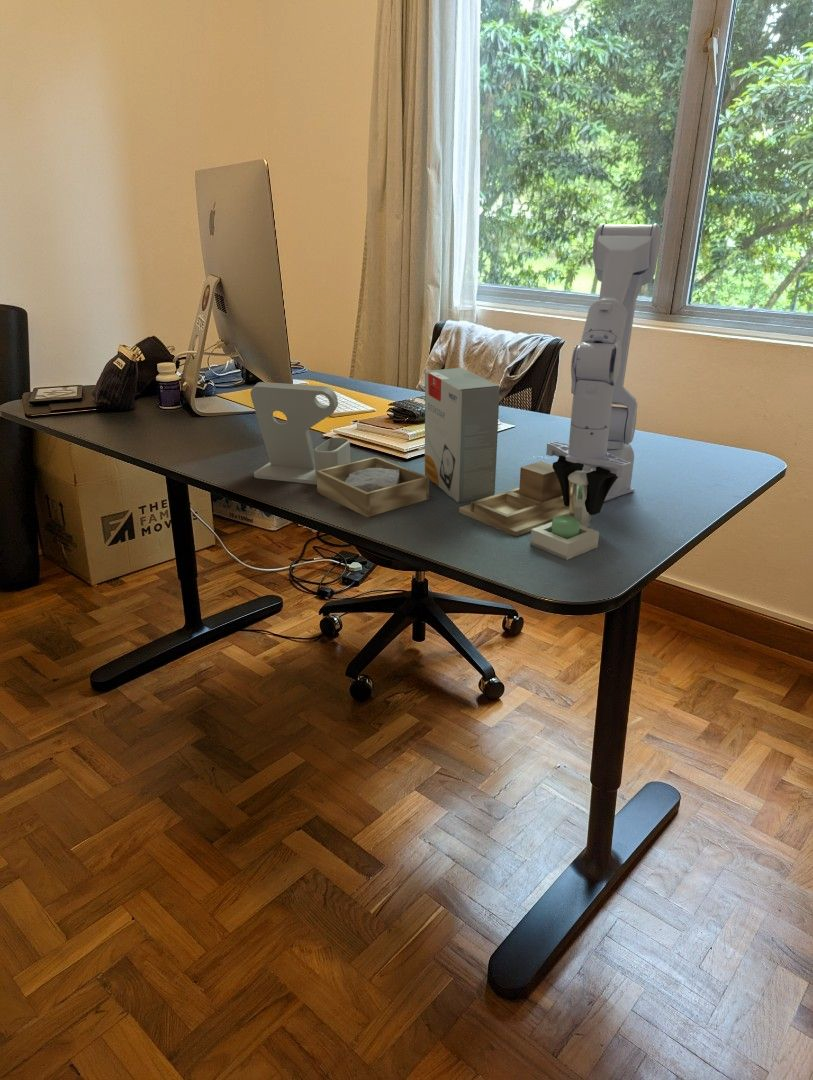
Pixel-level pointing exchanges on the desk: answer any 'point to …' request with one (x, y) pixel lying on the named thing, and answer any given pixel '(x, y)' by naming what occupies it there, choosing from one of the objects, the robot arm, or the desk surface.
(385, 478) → the stone block
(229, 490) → the desk surface
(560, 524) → the button
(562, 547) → the cream square tray
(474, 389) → the hard drive box
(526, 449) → the desk surface
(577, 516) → the milkshake
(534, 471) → the walnut block
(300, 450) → the phone holder
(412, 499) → the wooden tray
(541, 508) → the pallet
